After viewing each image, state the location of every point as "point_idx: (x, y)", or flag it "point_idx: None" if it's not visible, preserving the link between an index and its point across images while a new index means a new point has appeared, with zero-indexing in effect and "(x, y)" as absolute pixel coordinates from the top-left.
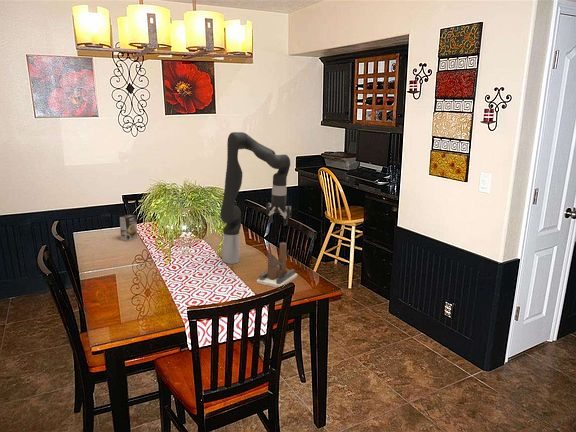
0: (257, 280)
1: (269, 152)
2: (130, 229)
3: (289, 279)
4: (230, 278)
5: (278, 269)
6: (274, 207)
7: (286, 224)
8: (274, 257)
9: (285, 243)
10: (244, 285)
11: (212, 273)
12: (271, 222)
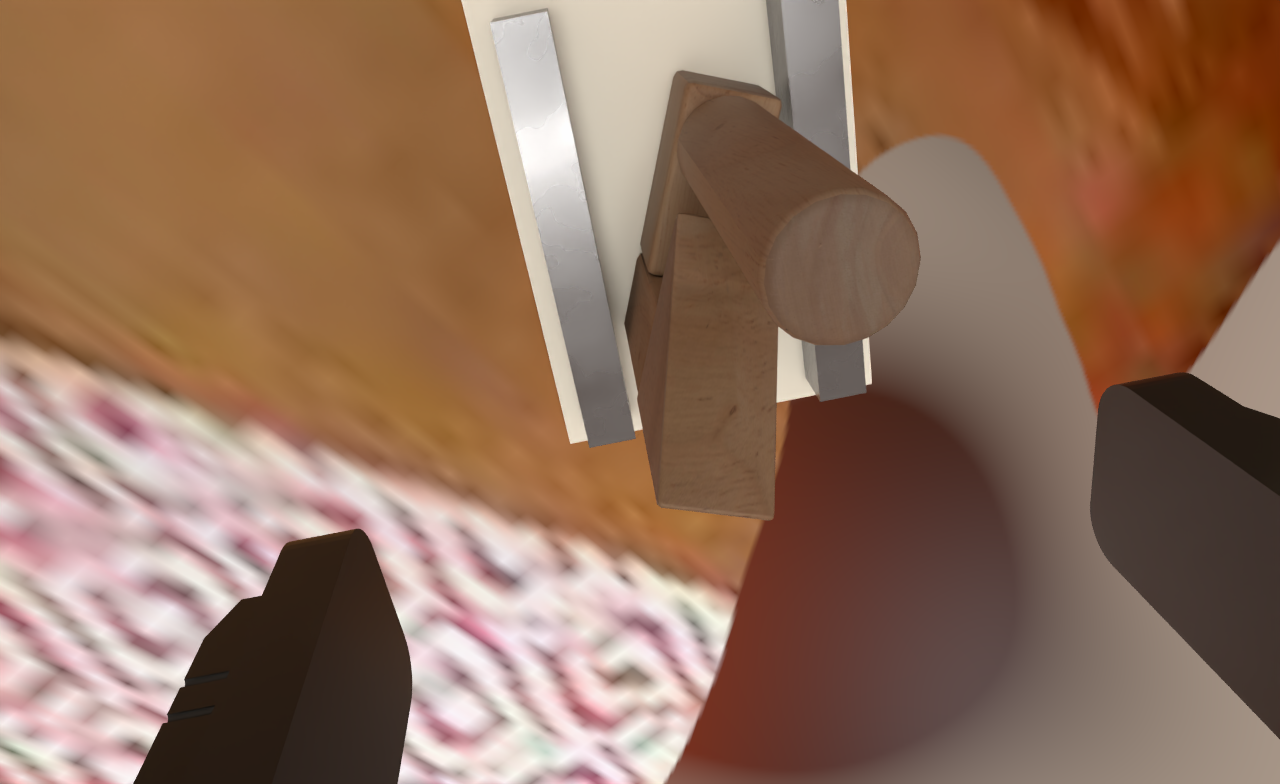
0: (579, 439)
1: None
2: None
3: (856, 170)
4: (270, 523)
5: (690, 201)
6: None
7: (1180, 395)
8: (772, 440)
9: (904, 255)
10: (526, 546)
11: (5, 558)
12: (392, 619)
